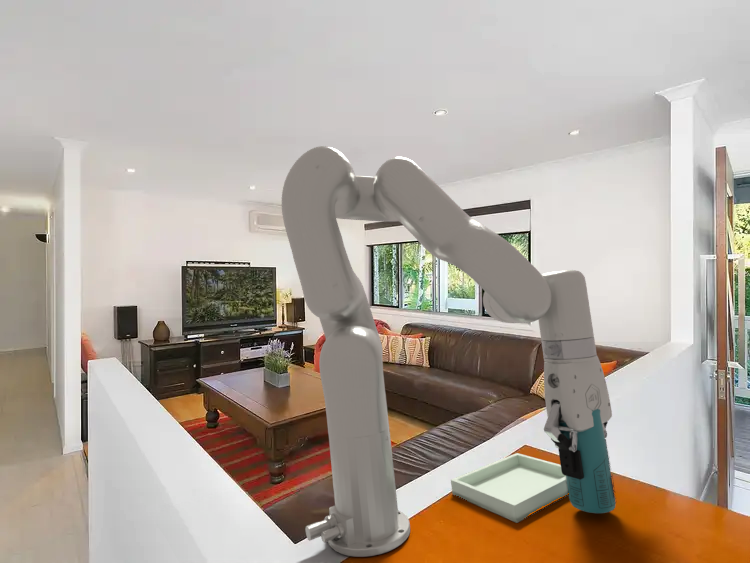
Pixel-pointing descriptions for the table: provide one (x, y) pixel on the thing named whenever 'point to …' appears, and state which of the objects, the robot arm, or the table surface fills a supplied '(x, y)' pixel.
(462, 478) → the tray
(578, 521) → the table surface
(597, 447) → the beverage bottle
